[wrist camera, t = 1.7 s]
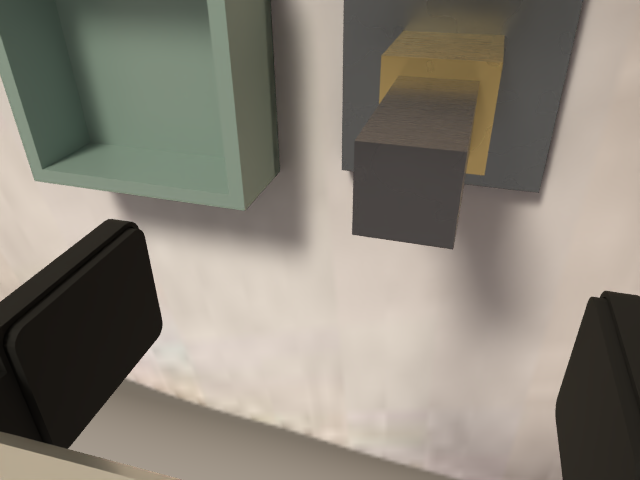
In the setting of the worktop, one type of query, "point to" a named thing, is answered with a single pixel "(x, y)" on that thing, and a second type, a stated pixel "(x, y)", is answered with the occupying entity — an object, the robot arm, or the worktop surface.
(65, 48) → the bin
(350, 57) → the ball stud
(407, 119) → the strut
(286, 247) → the worktop surface
